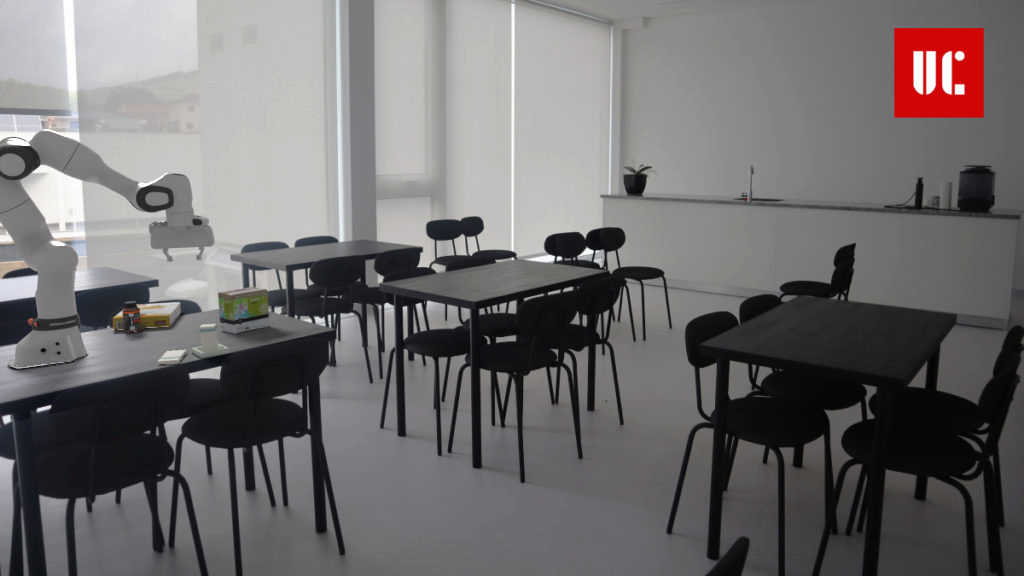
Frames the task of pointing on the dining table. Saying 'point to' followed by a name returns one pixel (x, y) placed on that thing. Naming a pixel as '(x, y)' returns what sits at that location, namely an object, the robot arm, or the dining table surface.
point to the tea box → (243, 309)
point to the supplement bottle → (131, 317)
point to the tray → (219, 351)
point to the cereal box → (153, 315)
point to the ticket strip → (172, 357)
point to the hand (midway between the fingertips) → (184, 260)
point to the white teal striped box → (208, 337)
